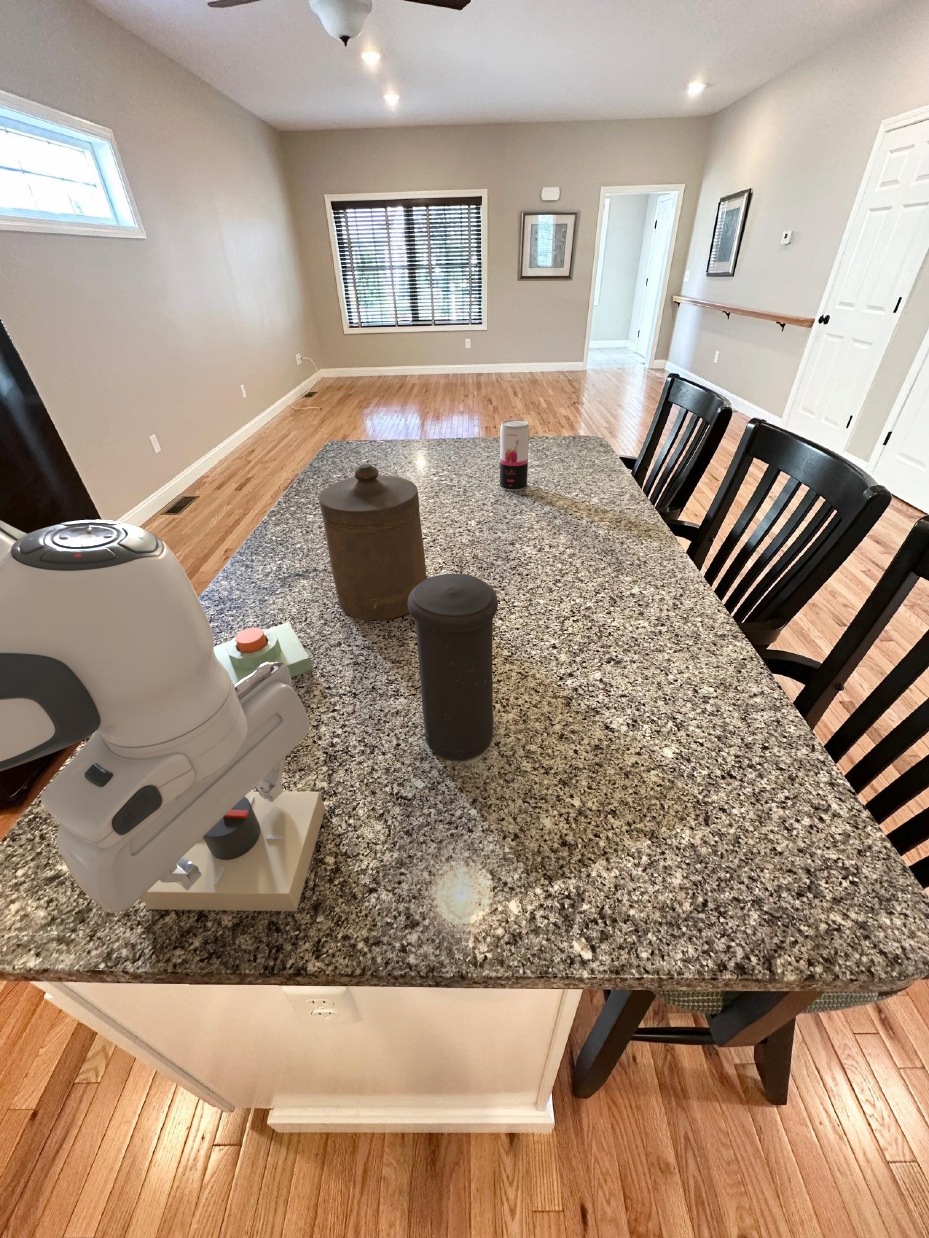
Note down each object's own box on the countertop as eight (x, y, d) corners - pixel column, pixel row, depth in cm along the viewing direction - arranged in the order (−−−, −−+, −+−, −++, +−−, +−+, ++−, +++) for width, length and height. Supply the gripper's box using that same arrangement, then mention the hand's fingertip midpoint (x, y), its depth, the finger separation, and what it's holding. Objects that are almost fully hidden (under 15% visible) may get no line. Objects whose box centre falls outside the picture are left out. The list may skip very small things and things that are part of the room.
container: (478, 698, 65) (476, 559, 54) (509, 750, 58) (513, 602, 47) (413, 718, 63) (396, 576, 51) (436, 773, 56) (422, 624, 44)
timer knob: (200, 859, 45) (185, 834, 43) (223, 814, 49) (210, 790, 47) (248, 861, 45) (236, 836, 43) (267, 816, 49) (257, 791, 46)
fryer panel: (150, 909, 45) (135, 890, 43) (201, 809, 53) (190, 789, 51) (296, 911, 44) (288, 892, 42) (325, 809, 52) (319, 790, 51)
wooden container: (393, 565, 94) (378, 444, 82) (445, 595, 85) (438, 465, 73) (321, 595, 86) (292, 467, 74) (371, 633, 77) (347, 493, 65)
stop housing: (221, 703, 66) (211, 680, 63) (208, 661, 73) (199, 639, 70) (312, 669, 71) (306, 647, 68) (292, 633, 78) (286, 612, 75)
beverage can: (513, 493, 121) (515, 428, 113) (494, 486, 125) (494, 423, 117) (532, 486, 125) (535, 422, 116) (512, 479, 129) (514, 417, 120)
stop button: (242, 657, 68) (238, 646, 67) (236, 643, 70) (232, 632, 69) (269, 647, 69) (266, 637, 68) (263, 634, 72) (259, 624, 71)
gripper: (256, 641, 47) (290, 743, 55) (11, 816, 33) (105, 920, 41) (308, 661, 45) (335, 764, 53) (67, 860, 30) (155, 961, 38)
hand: (233, 834), depth 47 cm, fingers open, 8 cm apart
